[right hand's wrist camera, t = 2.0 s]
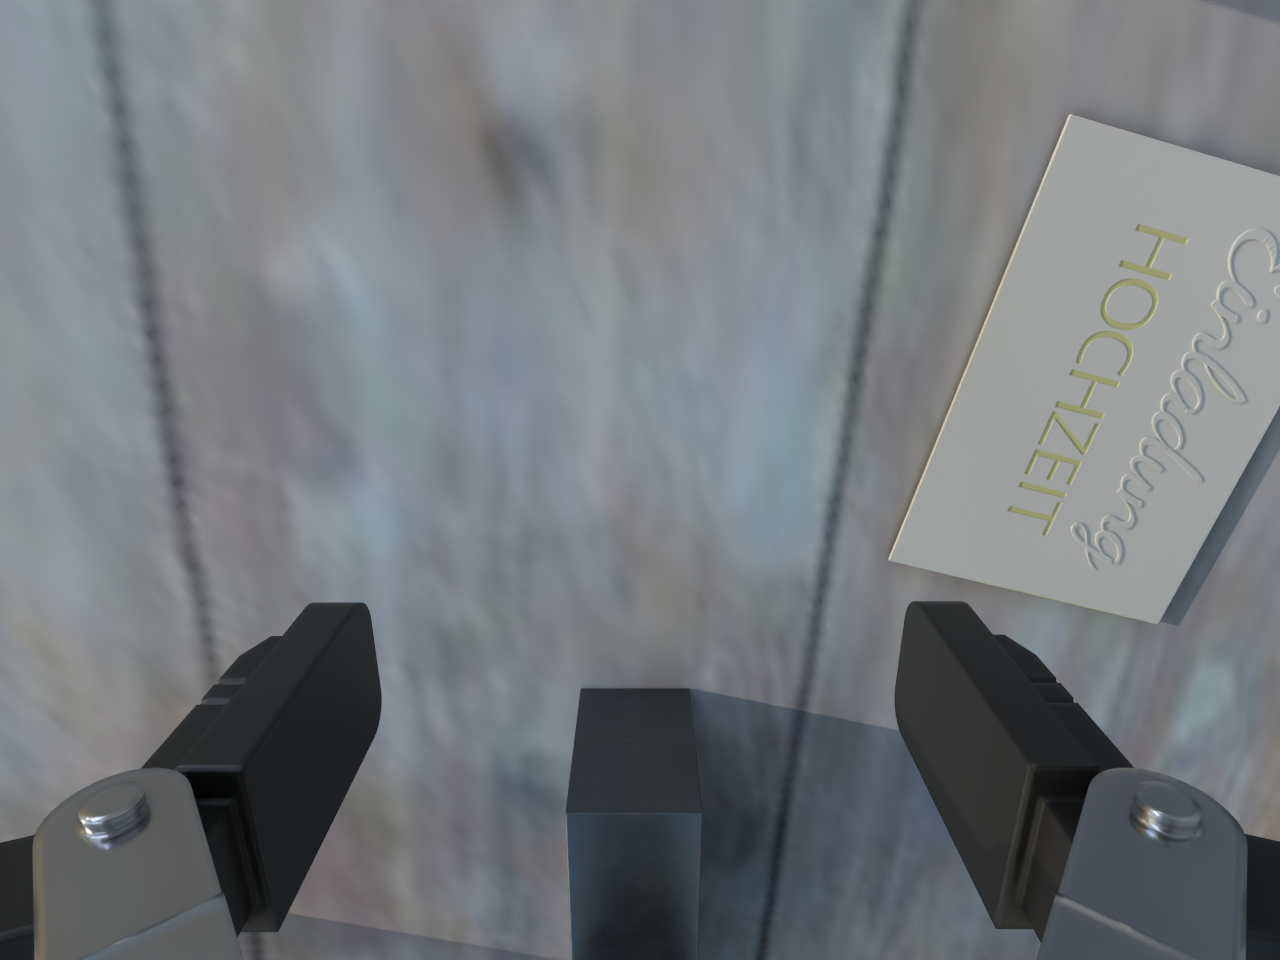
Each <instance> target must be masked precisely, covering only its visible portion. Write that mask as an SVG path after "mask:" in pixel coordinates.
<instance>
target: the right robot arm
mask: <svg viewBox="0 0 1280 960" xmlns="http://www.w3.org/2000/svg"><path fill="white" fill-rule="evenodd" d="M895 712H896V718H897V723H898V727H899V730H900V733H901V735H902V737H903V739H904V741H905V744H906V746H907V748H908V750H909V752H910V754H911V756H912V758H913V760H914V762H915V764H916V766H917V768H918V770H919V772H920V774H921V776H922V778H923V780H924V782H925V784H926V787H927V789H928V791H929V793H930V795H931V797H932V799H933V801H934V803H935V805H936V807H937V809H938V811H939V813H940V815H941V817H942V819H943V821H944V823H945V825H946V828H947V830H948V832H949V834H950V836H951V838H952V840H953V842H954V844H955V846H956V848H957V850H958V852H959V854H960V856H961V858H962V860H963V862H964V864H965V866H966V868H967V871H968V873H969V875H970V877H971V879H972V881H973V883H974V885H975V887H976V889H977V891H978V893H979V895H980V897H981V899H982V901H983V903H984V905H985V907H986V909H987V911H988V914H989V916H990V918H991V920H992V922H993V924H994V926H995V928H996V929H1034V931H1035V933H1036V935H1037V936H1038V938H1039V940H1040V942H1041V946H1040V949H1039V953H1038V956H1037V960H1280V842H1279V841H1274V840H1270V839H1265V838H1261V837H1256V836H1252V835H1247V834H1244V831H1243V829H1242V828H1241V826H1240V825H1239V823H1238V822H1237V820H1236V819H1235V818H1234V817H1233V816H1232V815H1231V814H1230V813H1229V812H1228V811H1227V810H1226V809H1225V808H1224V807H1223V806H1222V805H1220V804H1219V803H1218V802H1217V801H1215V800H1214V799H1212V798H1211V797H1210V796H1208V795H1207V794H1205V793H1203V792H1202V791H1200V790H1198V789H1197V788H1195V787H1193V786H1191V785H1189V784H1187V783H1185V782H1182V781H1180V780H1178V779H1175V778H1173V777H1170V776H1167V775H1164V774H1161V773H1157V772H1153V771H1149V770H1144V769H1137V768H1134V767H1133V766H1132V765H1131V764H1130V763H1129V761H1128V760H1127V759H1126V758H1125V757H1124V756H1123V755H1122V753H1121V752H1120V751H1119V750H1118V749H1117V748H1116V746H1115V745H1114V744H1113V743H1112V742H1111V741H1110V740H1109V738H1108V737H1107V736H1106V735H1105V734H1104V733H1103V732H1102V730H1101V729H1100V728H1099V727H1098V726H1097V725H1096V723H1095V722H1094V721H1093V720H1092V719H1091V718H1090V717H1089V715H1088V714H1087V713H1086V712H1085V711H1084V710H1083V709H1082V707H1081V706H1080V705H1079V704H1078V703H1074V702H1073V697H1072V696H1071V695H1070V694H1069V692H1068V691H1067V690H1066V689H1065V688H1064V687H1063V686H1062V684H1061V683H1057V682H1056V677H1055V676H1054V675H1053V674H1052V673H1051V672H1050V671H1049V669H1048V668H1047V667H1046V666H1045V665H1044V664H1043V663H1042V661H1041V660H1040V659H1039V658H1038V657H1037V656H1036V655H1035V654H1034V653H1032V652H1030V651H1029V650H1027V649H1026V648H1024V647H1023V646H1021V645H1019V644H1018V643H1016V642H1015V641H1013V640H1011V639H1010V638H1008V637H1007V636H1005V635H993V634H992V633H991V632H990V631H989V629H988V628H987V627H986V626H985V624H984V623H983V622H982V621H981V619H980V618H979V617H978V616H977V614H976V613H975V612H974V611H973V610H972V608H971V607H970V606H969V605H968V604H967V603H966V602H963V601H914V602H911V603H910V604H909V606H908V608H907V611H906V614H905V620H904V628H903V635H902V642H901V650H900V657H899V664H898V672H897V679H896V686H895ZM380 714H381V687H380V680H379V672H378V665H377V658H376V651H375V644H374V636H373V629H372V622H371V616H370V612H369V609H368V607H367V606H366V605H365V604H364V603H310V604H309V605H308V606H307V607H306V608H305V609H304V610H303V611H302V613H301V614H300V615H299V616H298V618H297V619H296V620H295V621H294V622H293V624H292V625H291V626H290V627H289V628H288V630H287V631H286V632H285V633H284V635H283V636H271V637H269V638H268V639H266V640H265V641H263V642H261V643H260V644H258V645H257V646H255V647H253V648H252V649H250V650H249V651H247V652H245V653H244V654H242V655H241V656H239V657H238V658H237V660H236V661H235V662H234V663H233V664H232V665H231V666H230V667H229V669H228V670H227V671H226V672H225V673H224V674H223V675H222V677H221V678H220V679H219V683H218V685H214V686H213V687H212V688H211V689H210V690H209V691H208V693H207V694H206V695H205V696H204V697H203V698H202V699H201V705H196V706H195V707H194V709H193V710H192V711H191V712H190V713H189V714H188V715H187V716H186V718H185V719H184V720H183V721H182V722H181V723H180V724H179V726H178V727H177V728H176V729H175V730H174V731H173V732H172V734H171V735H170V736H169V737H168V738H167V739H166V740H165V742H164V743H163V744H162V745H161V746H160V747H159V748H158V750H157V751H156V752H155V753H154V754H153V755H152V756H151V758H150V759H149V760H148V761H147V762H146V763H145V764H144V765H143V767H142V768H141V769H136V770H131V771H127V772H123V773H119V774H116V775H113V776H110V777H107V778H105V779H102V780H100V781H98V782H95V783H93V784H91V785H89V786H87V787H85V788H83V789H82V790H80V791H78V792H77V793H75V794H73V795H72V796H70V797H69V798H68V799H66V800H65V801H63V802H62V803H61V804H60V805H58V806H57V807H56V808H55V809H54V810H53V811H52V812H51V813H50V814H49V815H48V816H47V817H46V818H45V819H44V820H43V822H42V823H41V825H40V826H39V828H38V829H37V831H36V834H35V835H32V836H28V837H25V838H20V839H16V840H11V841H7V842H2V843H0V960H243V956H242V953H241V949H240V946H239V943H238V939H237V937H238V935H239V933H240V932H278V931H279V929H280V927H281V925H282V923H283V921H284V919H285V917H286V915H287V913H288V911H289V909H290V907H291V905H292V903H293V901H294V899H295V897H296V895H297V893H298V891H299V889H300V887H301V885H302V883H303V881H304V879H305V877H306V875H307V872H308V870H309V868H310V866H311V864H312V862H313V860H314V858H315V856H316V854H317V852H318V850H319V848H320V846H321V844H322V842H323V840H324V838H325V836H326V834H327V832H328V830H329V828H330V826H331V824H332V822H333V820H334V818H335V816H336V814H337V812H338V810H339V808H340V806H341V804H342V802H343V800H344V798H345V796H346V794H347V792H348V790H349V788H350V785H351V783H352V781H353V779H354V777H355V775H356V773H357V771H358V769H359V767H360V765H361V763H362V761H363V759H364V757H365V755H366V753H367V751H368V749H369V747H370V745H371V743H372V741H373V739H374V737H375V734H376V732H377V729H378V725H379V720H380Z"/></svg>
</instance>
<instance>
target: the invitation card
mask: <svg viewBox="0 0 1280 960" xmlns="http://www.w3.org/2000/svg"><path fill="white" fill-rule="evenodd" d="M1279 407H1280V176H1278V175H1274V174H1271V173H1267V172H1264V171H1261V170H1257V169H1254V168H1251V167H1247V166H1244V165H1240V164H1237V163H1234V162H1230V161H1227V160H1224V159H1220V158H1217V157H1213V156H1210V155H1207V154H1203V153H1200V152H1197V151H1193V150H1190V149H1186V148H1183V147H1180V146H1176V145H1173V144H1170V143H1166V142H1163V141H1159V140H1156V139H1153V138H1149V137H1146V136H1143V135H1139V134H1136V133H1132V132H1129V131H1126V130H1122V129H1119V128H1116V127H1112V126H1109V125H1106V124H1102V123H1099V122H1095V121H1092V120H1089V119H1085V118H1082V117H1079V116H1075V115H1072V114H1071V115H1069V116H1068V118H1067V121H1066V123H1065V126H1064V128H1063V131H1062V133H1061V136H1060V138H1059V141H1058V143H1057V146H1056V148H1055V150H1054V153H1053V155H1052V158H1051V160H1050V163H1049V165H1048V168H1047V170H1046V173H1045V175H1044V178H1043V180H1042V182H1041V185H1040V187H1039V190H1038V192H1037V195H1036V197H1035V200H1034V202H1033V205H1032V207H1031V210H1030V212H1029V214H1028V217H1027V219H1026V222H1025V224H1024V227H1023V229H1022V232H1021V234H1020V237H1019V239H1018V241H1017V244H1016V246H1015V249H1014V251H1013V254H1012V256H1011V259H1010V261H1009V264H1008V266H1007V269H1006V271H1005V273H1004V276H1003V278H1002V281H1001V283H1000V286H999V288H998V291H997V293H996V296H995V298H994V301H993V303H992V305H991V308H990V310H989V313H988V315H987V318H986V320H985V323H984V325H983V328H982V330H981V333H980V335H979V337H978V340H977V342H976V345H975V347H974V350H973V352H972V355H971V357H970V360H969V362H968V365H967V367H966V369H965V372H964V374H963V377H962V379H961V382H960V384H959V387H958V389H957V392H956V394H955V397H954V399H953V401H952V404H951V406H950V409H949V411H948V414H947V416H946V419H945V421H944V424H943V426H942V428H941V431H940V433H939V436H938V438H937V441H936V443H935V446H934V448H933V451H932V453H931V456H930V458H929V460H928V463H927V465H926V468H925V470H924V473H923V475H922V478H921V480H920V483H919V485H918V488H917V490H916V492H915V495H914V497H913V500H912V502H911V505H910V507H909V510H908V512H907V515H906V517H905V520H904V522H903V524H902V527H901V529H900V532H899V534H898V537H897V539H896V542H895V544H894V547H893V549H892V552H891V554H890V556H889V561H892V562H896V563H901V564H905V565H909V566H913V567H918V568H922V569H926V570H930V571H934V572H939V573H943V574H947V575H951V576H956V577H960V578H964V579H968V580H972V581H977V582H981V583H985V584H989V585H993V586H998V587H1002V588H1006V589H1010V590H1015V591H1019V592H1023V593H1027V594H1031V595H1036V596H1040V597H1044V598H1048V599H1053V600H1057V601H1061V602H1065V603H1069V604H1074V605H1078V606H1082V607H1086V608H1090V609H1095V610H1099V611H1103V612H1107V613H1112V614H1116V615H1120V616H1124V617H1128V618H1133V619H1137V620H1141V621H1145V622H1150V623H1154V624H1158V623H1159V621H1160V620H1161V618H1162V616H1163V614H1164V612H1165V611H1166V609H1167V607H1168V605H1169V603H1170V602H1171V600H1172V598H1173V596H1174V594H1175V593H1176V591H1177V589H1178V587H1179V586H1180V584H1181V582H1182V580H1183V578H1184V577H1185V575H1186V573H1187V571H1188V569H1189V568H1190V566H1191V564H1192V562H1193V560H1194V559H1195V557H1196V555H1197V553H1198V552H1199V550H1200V548H1201V546H1202V544H1203V543H1204V541H1205V539H1206V537H1207V535H1208V534H1209V532H1210V530H1211V528H1212V526H1213V525H1214V523H1215V521H1216V519H1217V518H1218V516H1219V514H1220V512H1221V510H1222V509H1223V507H1224V505H1225V503H1226V501H1227V500H1228V498H1229V496H1230V494H1231V493H1232V491H1233V489H1234V487H1235V485H1236V484H1237V482H1238V480H1239V478H1240V476H1241V475H1242V473H1243V471H1244V469H1245V467H1246V466H1247V464H1248V462H1249V460H1250V459H1251V457H1252V455H1253V453H1254V451H1255V450H1256V448H1257V446H1258V444H1259V442H1260V441H1261V439H1262V437H1263V435H1264V433H1265V432H1266V430H1267V428H1268V426H1269V425H1270V423H1271V421H1272V419H1273V417H1274V416H1275V414H1276V412H1277V410H1278V408H1279Z"/></svg>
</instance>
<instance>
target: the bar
mask: <svg viewBox="0 0 1280 960" xmlns="http://www.w3.org/2000/svg"><path fill="white" fill-rule="evenodd" d="M701 834H702V807H701V797H700V787H699V777H698V767H697V757H696V747H695V738H694V728H693V718H692V708H691V698H690V689H581V690H580V698H579V707H578V715H577V723H576V731H575V740H574V748H573V756H572V764H571V773H570V781H569V789H568V797H567V806H566V837H567V860H568V883H569V907H570V930H571V953H572V960H697V948H698V920H699V891H700V863H701Z"/></svg>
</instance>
